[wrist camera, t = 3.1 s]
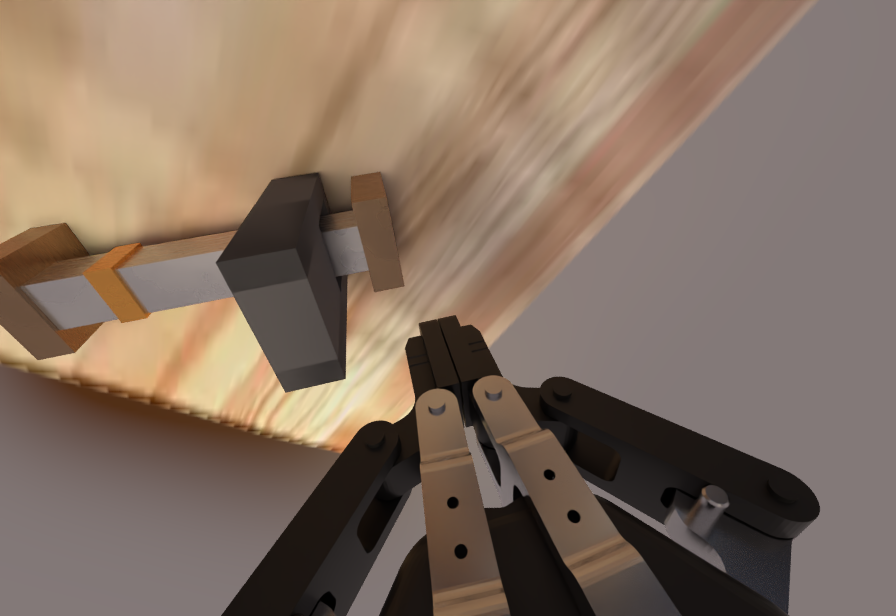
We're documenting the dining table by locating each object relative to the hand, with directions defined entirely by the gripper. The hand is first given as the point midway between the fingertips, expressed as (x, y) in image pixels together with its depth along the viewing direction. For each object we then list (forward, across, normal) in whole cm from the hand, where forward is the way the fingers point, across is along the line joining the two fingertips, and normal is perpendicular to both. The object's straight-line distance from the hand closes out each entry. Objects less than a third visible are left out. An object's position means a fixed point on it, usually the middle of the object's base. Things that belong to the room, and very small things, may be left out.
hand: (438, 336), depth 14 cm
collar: (+16, +6, 0) cm, 17 cm away
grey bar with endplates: (+16, +12, 0) cm, 19 cm away
